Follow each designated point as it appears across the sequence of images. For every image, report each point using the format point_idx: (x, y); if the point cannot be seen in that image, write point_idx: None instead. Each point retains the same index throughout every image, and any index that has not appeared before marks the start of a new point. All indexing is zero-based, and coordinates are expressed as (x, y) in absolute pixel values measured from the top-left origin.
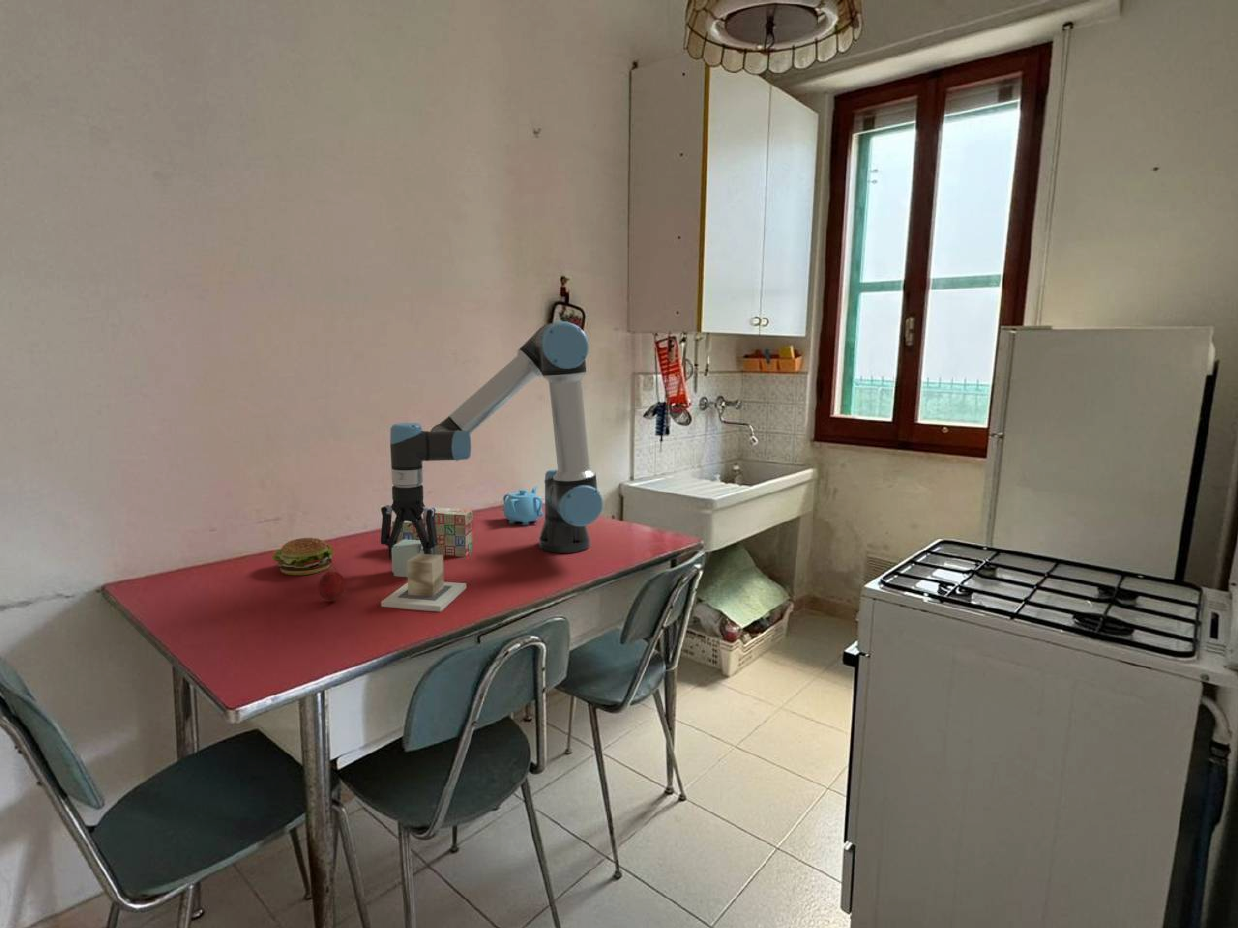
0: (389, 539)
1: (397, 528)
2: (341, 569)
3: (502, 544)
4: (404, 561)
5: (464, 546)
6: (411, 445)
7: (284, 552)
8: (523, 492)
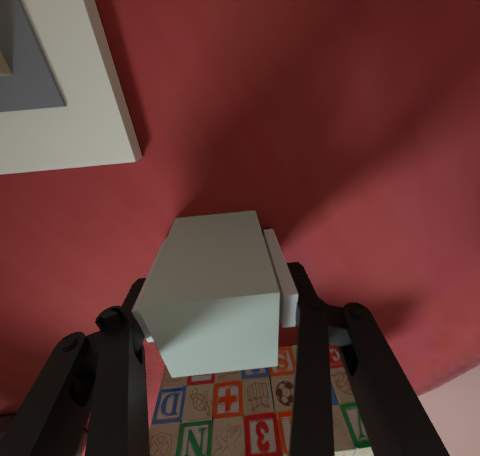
0: (326, 335)
1: (292, 440)
2: (447, 212)
3: (148, 412)
4: (213, 245)
5: (162, 389)
6: None
7: None
8: None
